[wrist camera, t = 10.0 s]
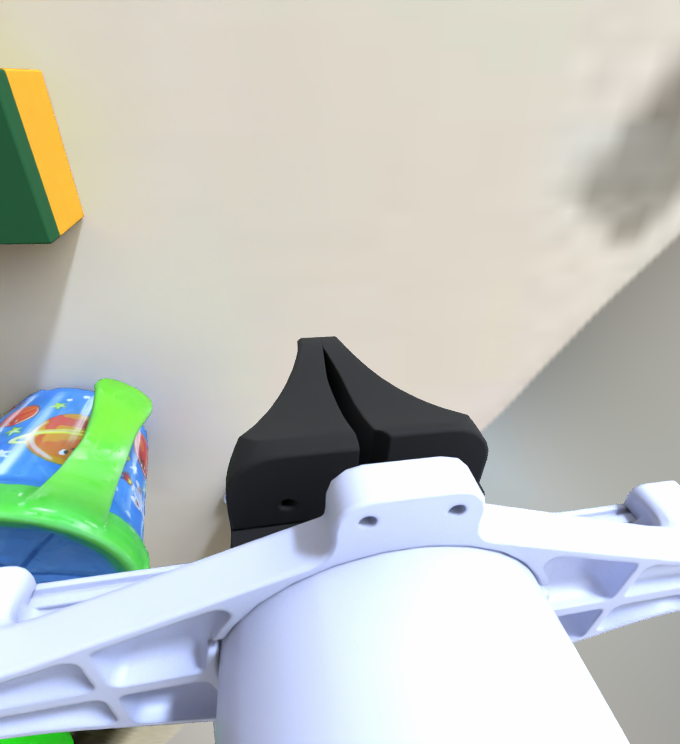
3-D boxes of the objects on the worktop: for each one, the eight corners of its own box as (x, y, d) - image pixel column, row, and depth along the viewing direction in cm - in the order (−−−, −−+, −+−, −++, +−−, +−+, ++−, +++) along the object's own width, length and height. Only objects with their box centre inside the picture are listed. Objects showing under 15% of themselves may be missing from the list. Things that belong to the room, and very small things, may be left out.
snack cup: (93, 526, 31) (37, 688, 23) (-74, 465, 26) (-228, 649, 17) (234, 398, 27) (228, 541, 18) (70, 291, 21) (-43, 426, 13)
